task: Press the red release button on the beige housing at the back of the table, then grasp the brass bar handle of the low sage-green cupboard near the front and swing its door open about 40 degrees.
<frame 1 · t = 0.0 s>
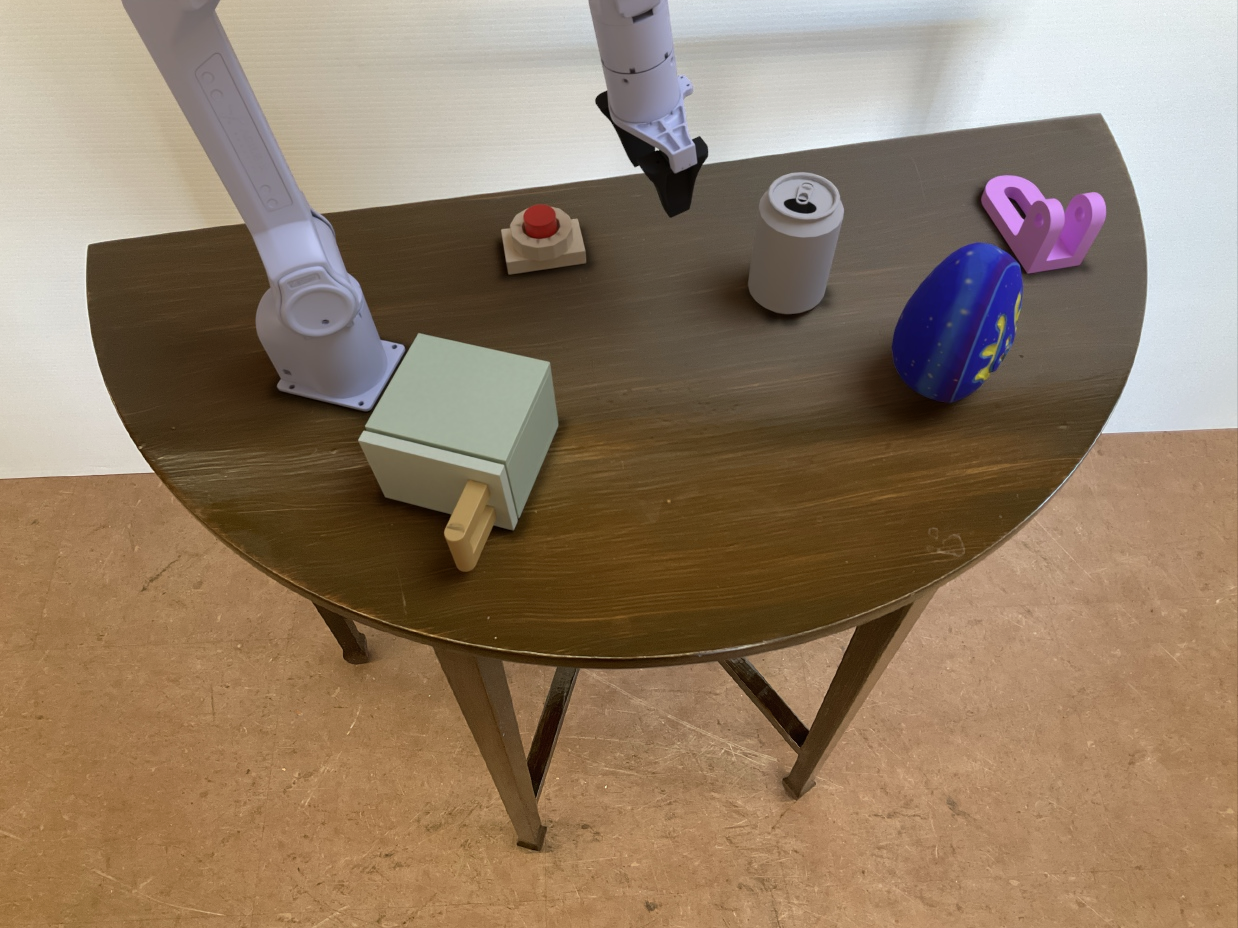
hand: (660, 185, 78), 11 cm above the table, tool pointing down, fingers open, 7 cm apart
can: (784, 293, 84), on the table
button box: (544, 252, 88), on the table
button: (540, 222, 85), point 4 cm above the table, slide at 0.1 cm
bracket: (1023, 227, 89), on the table
ornament: (933, 378, 78), on the table
cupboard: (477, 455, 74), on the table
door: (427, 509, 66), point 4 cm above the table, hinge at 0.0°
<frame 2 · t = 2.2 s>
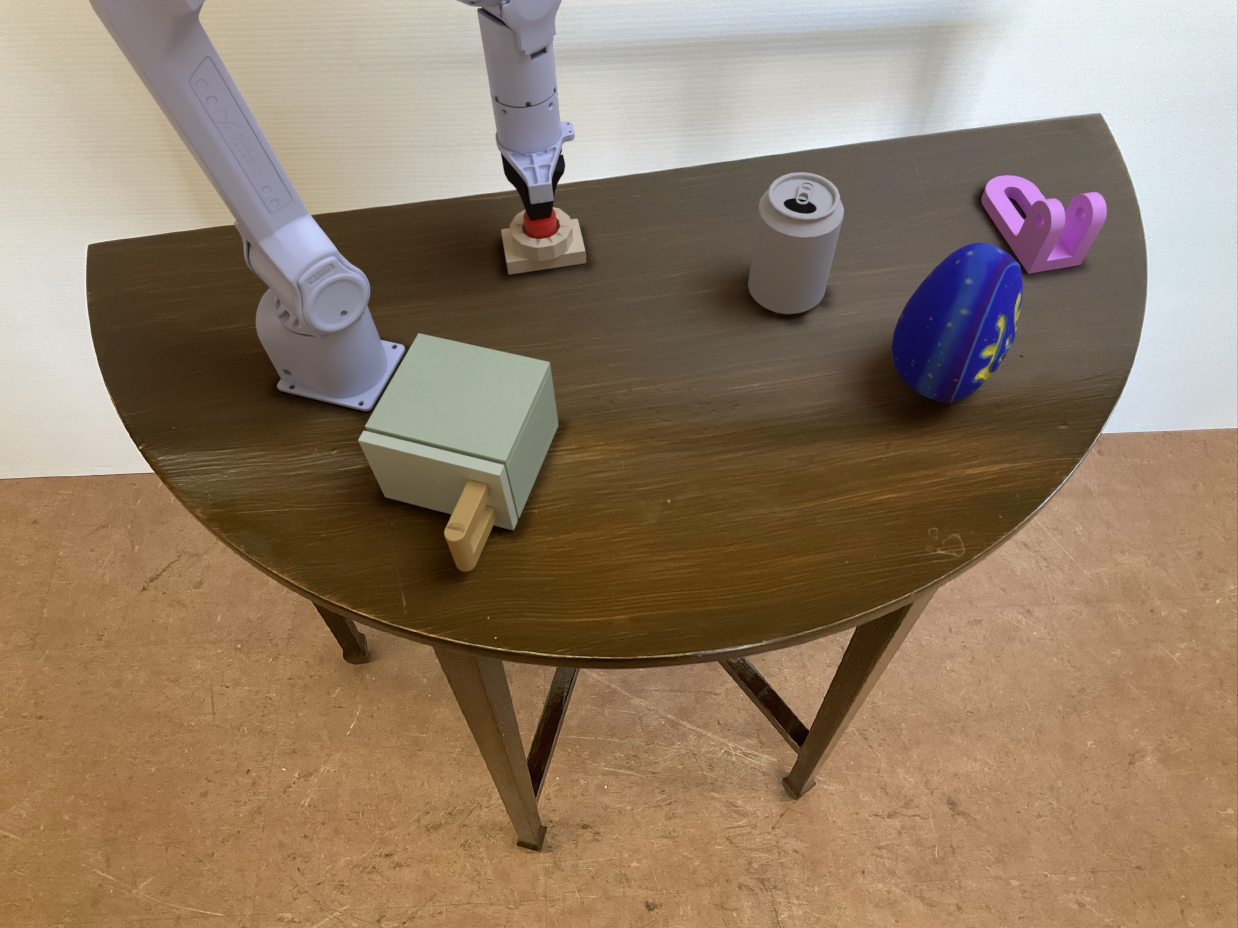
hand: (539, 215, 84), 5 cm above the table, tool pointing down, fingers closed, pressing on button
button: (540, 222, 85), point 4 cm above the table, slide at 0.1 cm, touching gripper
everything else where it was.
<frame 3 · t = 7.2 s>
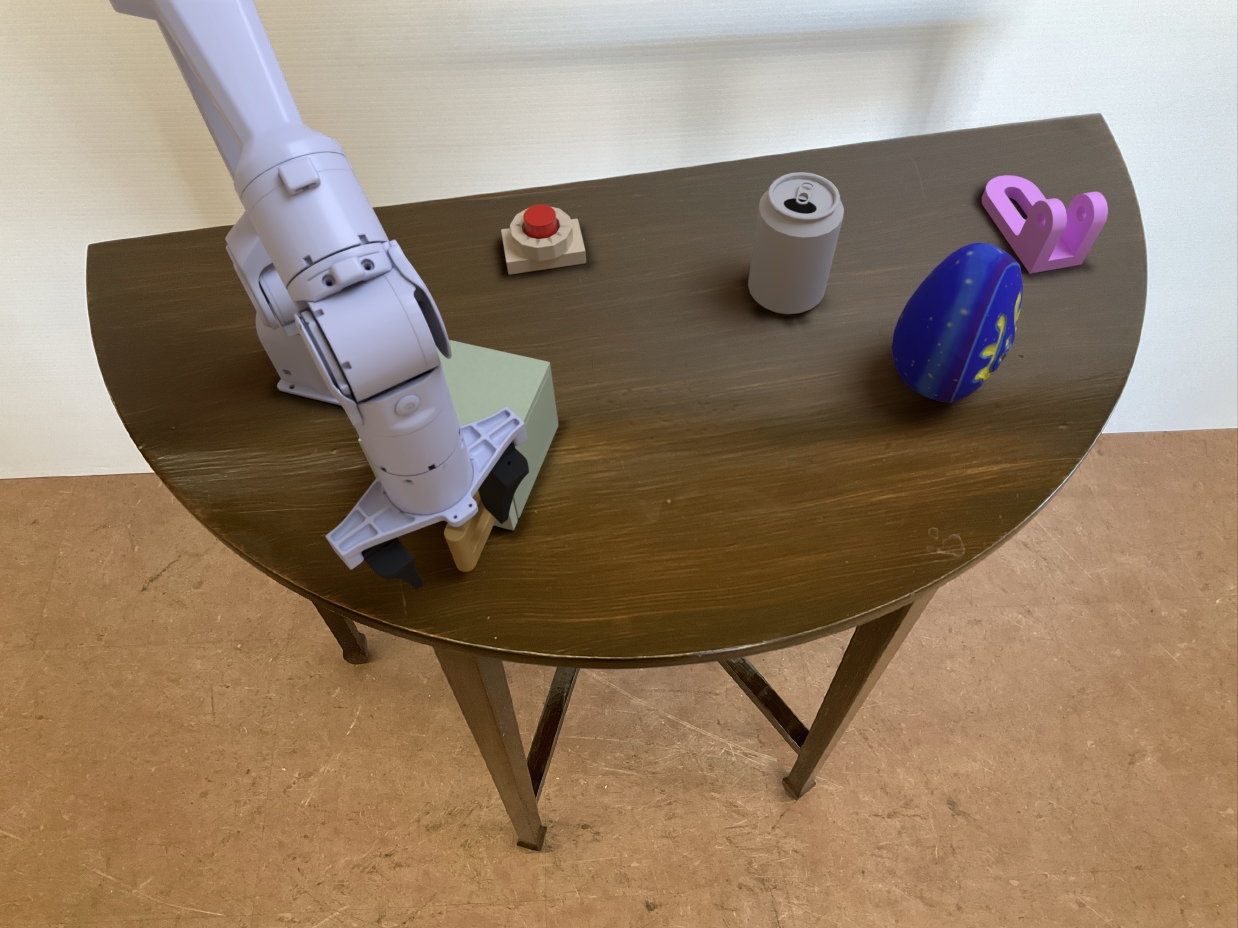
hand: (455, 545, 63), 6 cm above the table, tool pointing down, fingers open, 7 cm apart
button: (540, 222, 85), point 4 cm above the table, slide at 0.1 cm
door: (427, 509, 66), point 4 cm above the table, hinge at 0.0°, touching gripper
everything else where it was.
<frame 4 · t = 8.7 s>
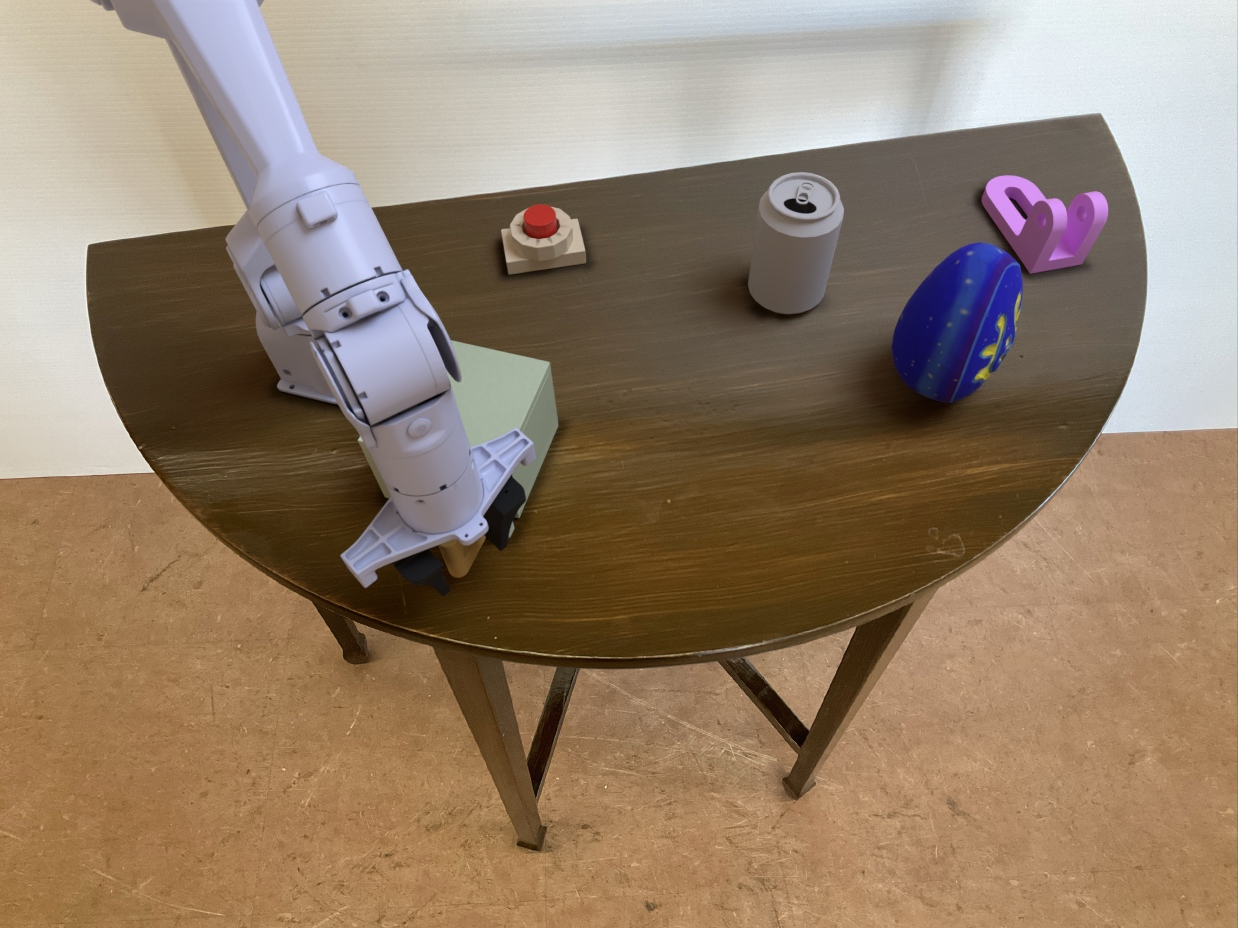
hand: (466, 563, 64), 4 cm above the table, tool pointing down, fingers open, 5 cm apart
door: (423, 513, 66), point 4 cm above the table, hinge at 3.8°, touching gripper
everything else where it was.
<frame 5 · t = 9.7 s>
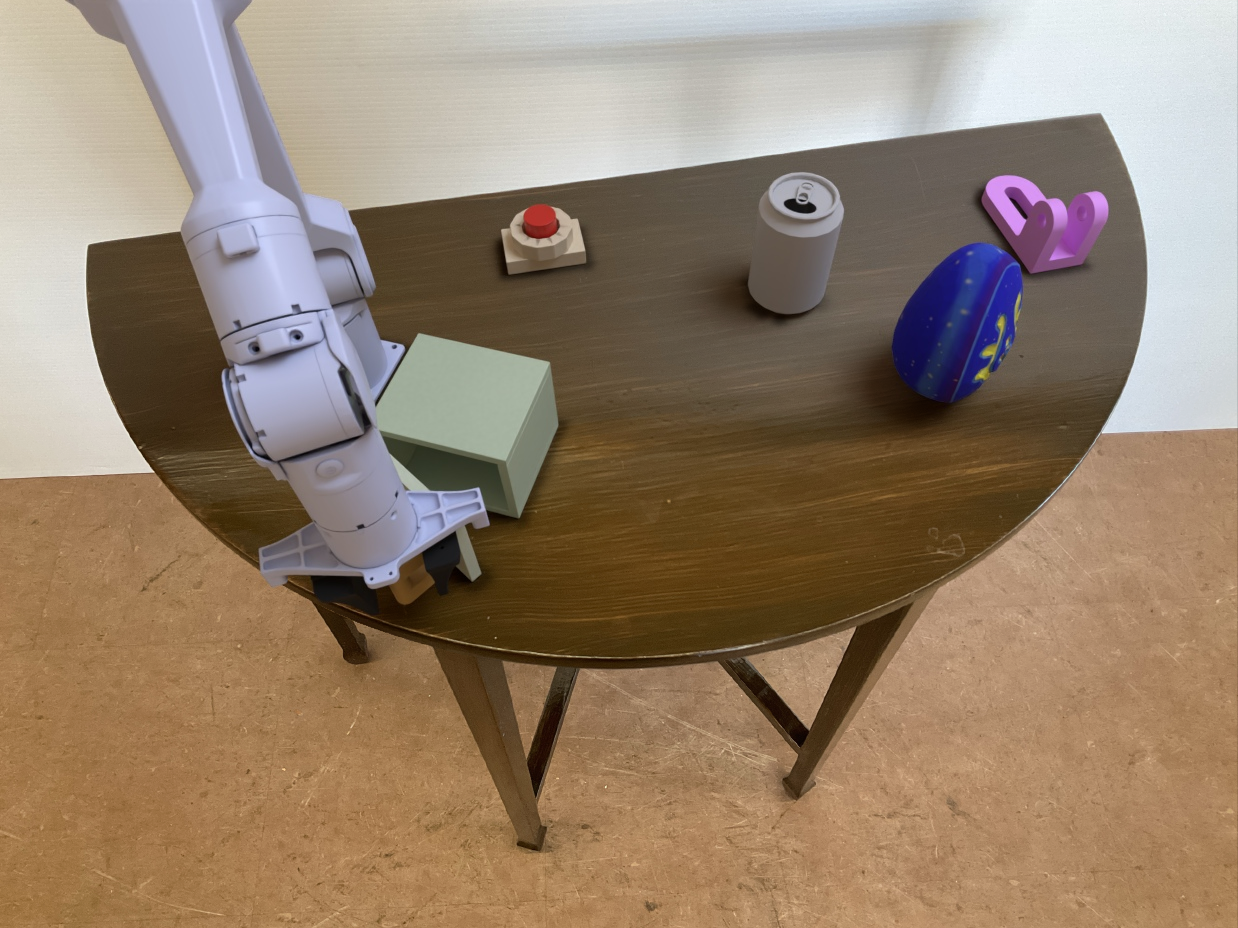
hand: (406, 593, 63), 4 cm above the table, tool pointing down, fingers open, 4 cm apart
door: (392, 529, 65), point 4 cm above the table, hinge at 27.2°, touching gripper
everything else where it was.
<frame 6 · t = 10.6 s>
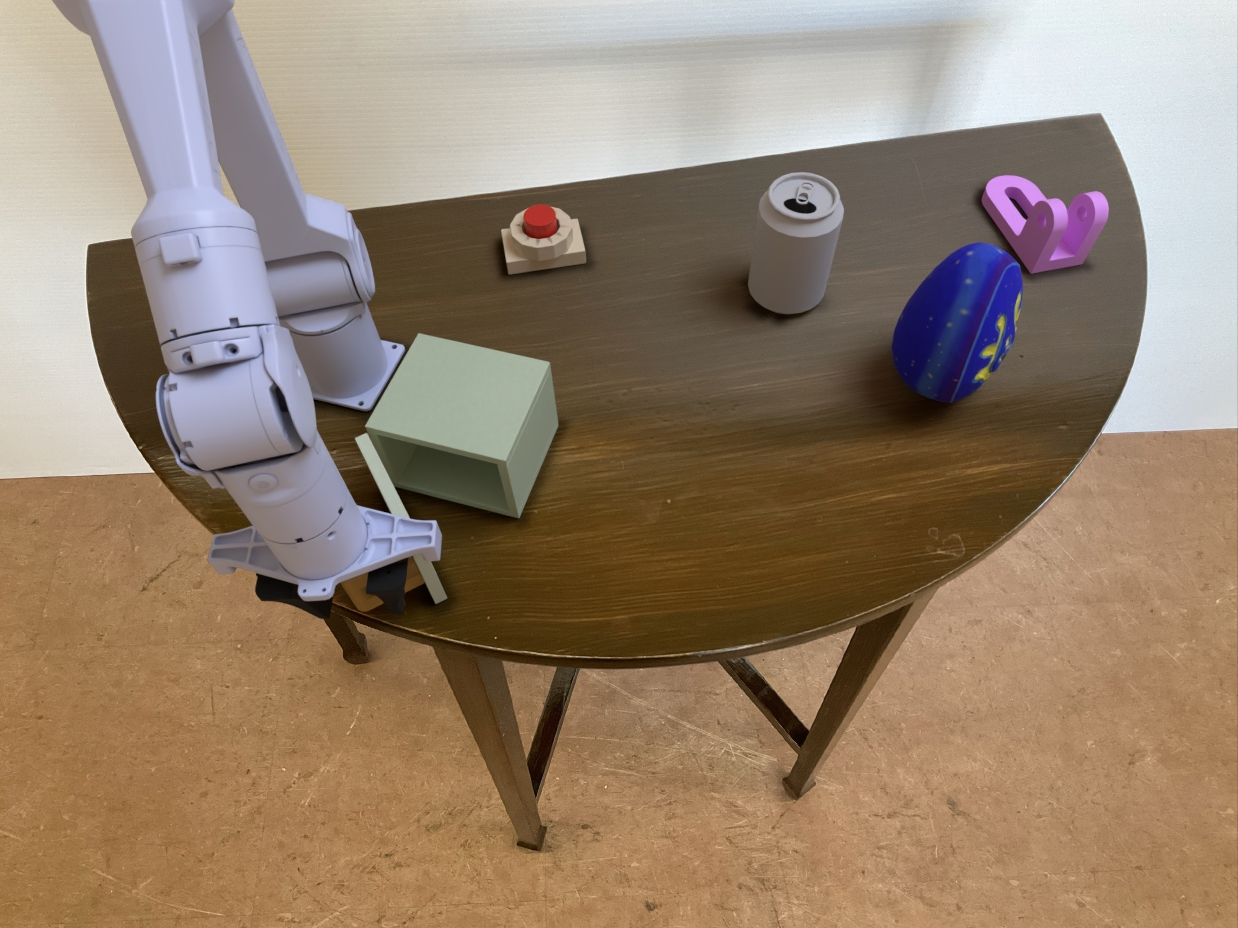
hand: (362, 603, 62), 4 cm above the table, tool pointing down, fingers open, 4 cm apart
door: (369, 534, 65), point 4 cm above the table, hinge at 43.3°, touching gripper
everything else where it was.
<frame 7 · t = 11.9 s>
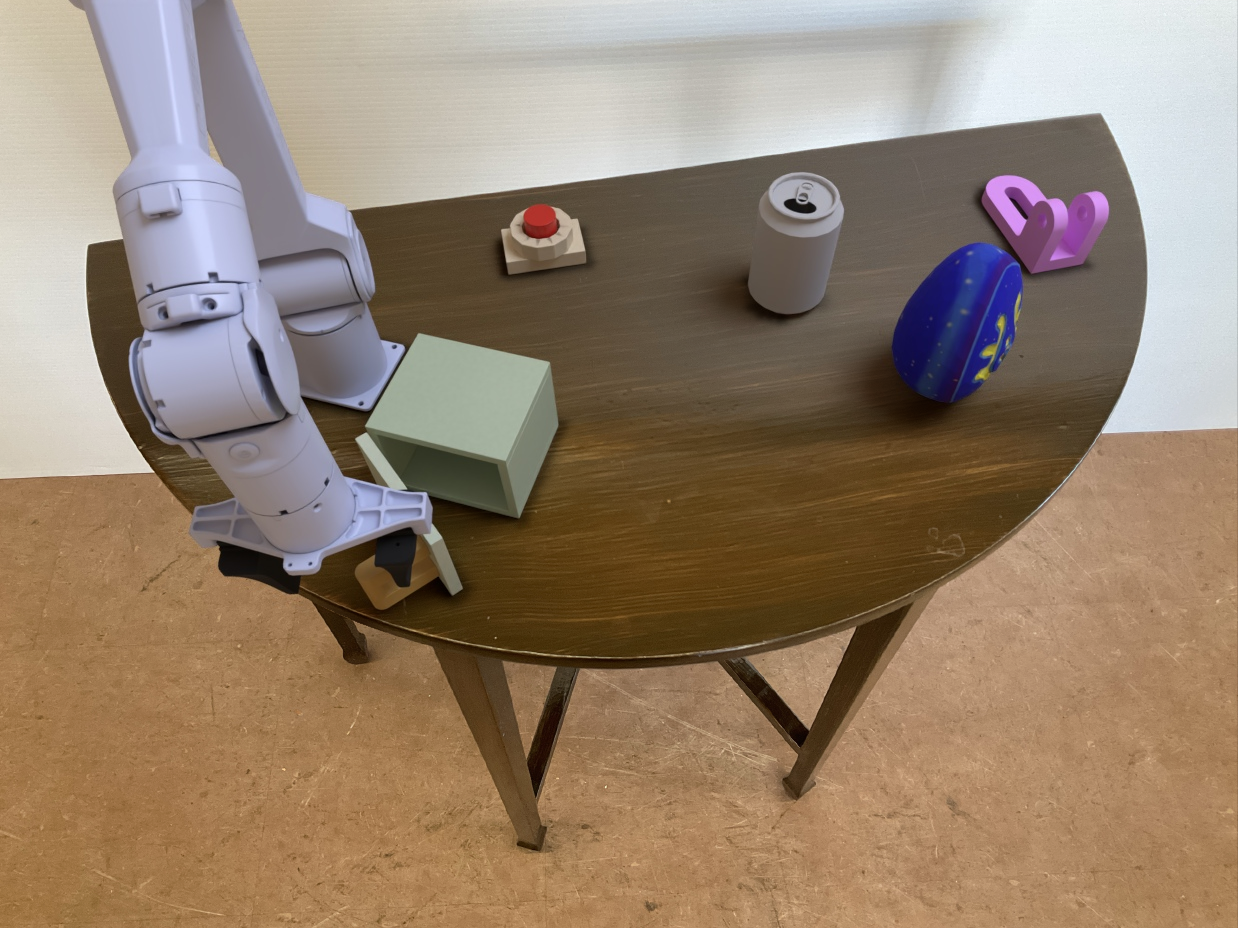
hand: (350, 578, 61), 7 cm above the table, tool pointing down, fingers open, 7 cm apart
door: (379, 533, 65), point 4 cm above the table, hinge at 36.4°, touching gripper
everything else where it was.
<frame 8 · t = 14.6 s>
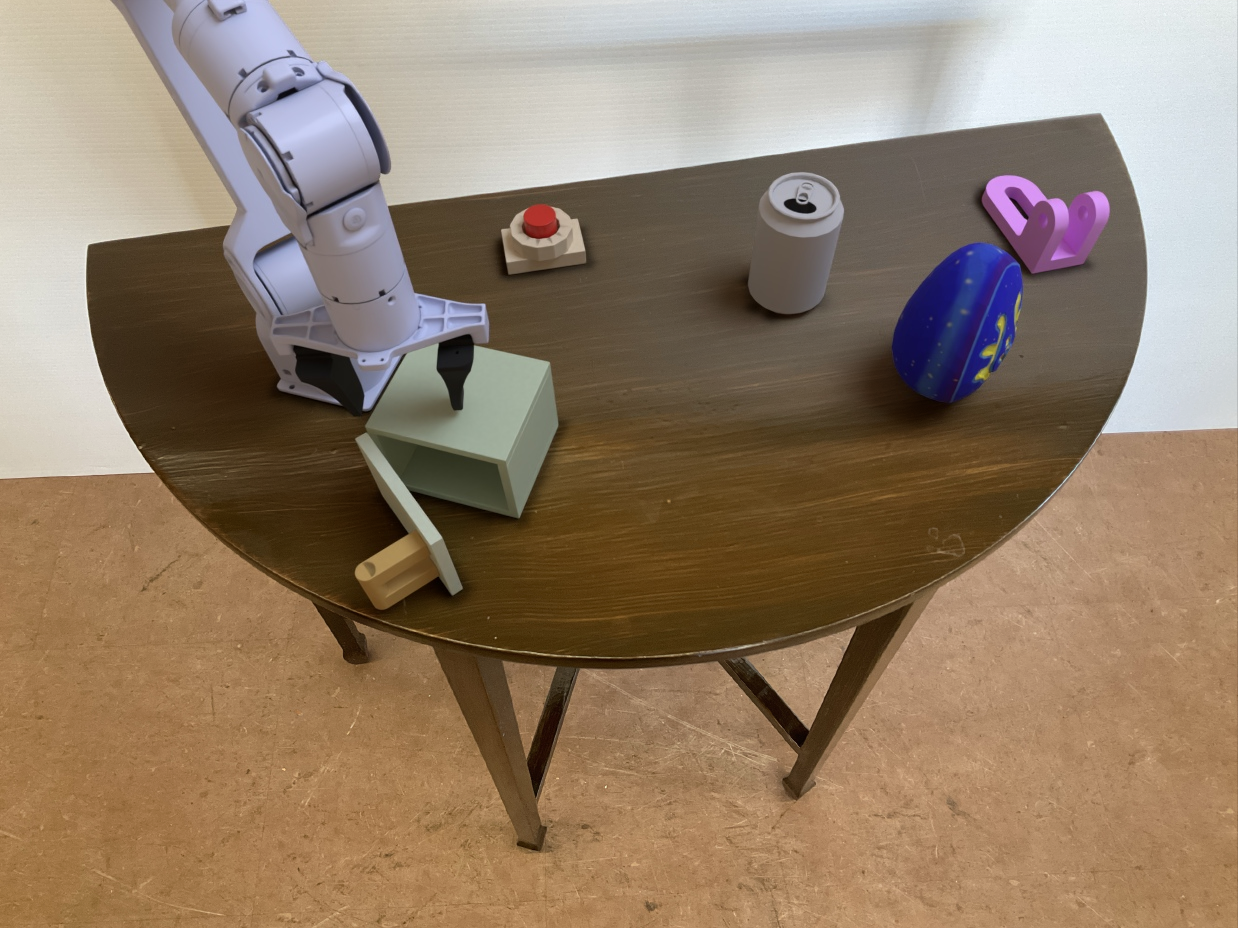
hand: (408, 403, 66), 9 cm above the table, tool pointing down, fingers open, 7 cm apart
door: (379, 533, 65), point 4 cm above the table, hinge at 36.4°
everything else where it was.
at the end: button pushed in 1.2 cm at the most during the clip, back to where it started at the end; button slide at 0.1 cm; door at +36° (first picture: +0°) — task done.
